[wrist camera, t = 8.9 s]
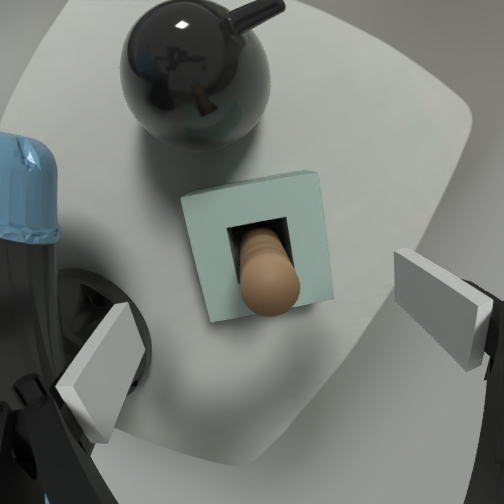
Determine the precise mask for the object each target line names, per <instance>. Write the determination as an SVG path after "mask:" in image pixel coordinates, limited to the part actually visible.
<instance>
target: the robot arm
mask: <svg viewBox="0 0 504 504" xmlns="http://www.w3.org/2000/svg"><path fill="white" fill-rule="evenodd" d="M57 177H58V173H57V165H56V161H55V158H54V156H53V154H52V153H51V151H50V150H49V149H48V148H47V147H46V146H45V145H44V144H43V143H42V142H40V141H38V140H35V139H32V138H29V137H25V136H20V135H15V134H10V133H5V132H0V504H118V502H117V501H116V499H115V497H114V496H113V494H112V493H111V491H110V490H109V488H108V486H107V485H106V483H105V481H104V480H103V478H102V476H101V475H100V473H99V471H98V469H97V468H96V466H95V464H94V462H93V460H92V458H91V457H90V455H91V453H92V450H93V448H94V446H95V443H108V442H109V439H110V436H111V433H112V431H113V428H114V426H115V423H116V420H117V418H118V415H119V413H120V410H121V408H122V405H123V403H124V400H125V398H126V396H127V395H129V394H130V393H131V392H133V391H134V390H135V389H136V388H137V387H138V385H139V384H140V382H141V381H142V379H143V377H144V375H145V372H146V370H147V367H148V365H149V362H150V358H151V339H150V335H149V331H148V328H147V325H146V323H145V321H144V318H143V317H142V315H141V313H140V311H139V310H138V308H137V307H136V306H135V304H134V303H133V302H132V300H131V299H130V298H129V297H128V296H127V295H126V294H125V293H124V292H123V291H122V290H121V289H119V288H118V287H117V286H116V285H114V284H113V283H112V282H110V281H108V280H107V279H105V278H103V277H101V276H99V275H97V274H94V273H91V272H88V271H84V270H78V269H67V270H61V271H58V269H57V242H58V241H59V240H60V238H61V228H60V226H59V224H58V223H57ZM394 270H395V301H396V302H397V303H398V304H399V305H400V306H401V307H402V308H403V309H404V310H405V311H406V312H407V313H408V314H409V315H410V316H412V318H413V319H415V321H417V322H418V323H419V324H420V325H421V326H422V327H423V328H424V329H425V330H426V331H427V332H428V333H429V334H430V335H431V336H432V337H433V338H434V339H435V340H436V341H437V342H438V343H439V344H440V345H441V346H442V347H443V348H444V349H445V350H446V351H447V352H448V353H449V354H450V355H451V356H452V357H453V358H454V360H455V361H456V362H457V363H458V364H459V365H460V366H461V367H462V368H463V369H464V370H465V371H466V372H467V371H470V370H472V369H474V368H476V367H478V366H480V365H481V364H482V359H483V355H484V351H485V352H486V353H487V354H488V355H489V356H490V359H489V363H488V367H487V371H486V374H485V378H484V380H487V385H486V396H485V405H484V413H483V420H482V427H481V432H480V438H479V443H478V448H477V453H476V458H475V463H474V467H473V472H472V475H471V479H470V483H469V487H468V490H467V494H466V497H465V500H464V504H504V301H501V300H500V299H498V298H497V297H495V296H494V295H492V294H490V293H489V292H487V291H485V290H484V289H482V288H479V286H478V285H476V284H474V283H472V282H470V281H467V280H464V279H459V278H458V277H456V276H455V275H453V274H451V273H449V272H448V271H446V270H445V269H443V268H441V267H439V266H438V265H436V264H434V263H432V262H431V261H429V260H428V259H426V258H424V257H422V256H421V255H419V254H417V253H415V252H414V251H412V250H410V249H408V248H403V249H398V250H394Z"/></svg>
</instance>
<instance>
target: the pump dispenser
mask: <svg viewBox="0 0 504 504" xmlns="http://www.w3.org/2000/svg"><path fill="white" fill-rule="evenodd" d="M285 9H286V5H285V3H284V1H283V0H256V1H253V2H251V3H248V4H246V5H244V6H241V7H239V8H236V9H234V10H232V11H231V10H229V9H227V8H226V7H224V6H222V5H220V4H218V3H216V2H213V1H210V0H167V1H164V2H162V3H159V4H157V5H155V6H154V7H152V8H150V9H149V10H148V11H146V12H145V13H144V14H143V15H142V16H141V17H140V18H139V19H138V20H137V21H136V22H135V23H134V25H133V26H132V27H131V29H130V31H129V32H128V34H127V36H126V39H125V41H124V44H123V48H122V52H121V59H120V79H121V86H122V90H123V94H124V97H125V100H126V102H127V105H128V107H129V109H130V110H131V112H132V114H133V115H134V117H135V118H136V120H137V121H138V122H139V123H140V124H141V126H142V127H143V128H144V129H145V130H146V131H147V132H148V133H149V134H151V135H152V136H153V137H154V138H156V139H157V140H159V141H160V142H162V143H164V144H166V145H168V146H170V147H173V148H175V149H179V150H183V151H188V152H209V151H214V150H218V149H221V148H224V147H227V146H229V145H231V144H233V143H235V142H237V141H238V140H240V139H241V138H243V137H244V136H245V135H246V134H248V133H249V132H250V131H251V130H252V129H253V128H254V126H255V125H256V124H257V123H258V121H259V120H260V118H261V116H262V115H263V113H264V111H265V108H266V106H267V103H268V100H269V95H270V88H271V76H270V68H269V63H268V59H267V56H266V53H265V50H264V48H263V46H262V44H261V42H260V40H259V39H258V37H257V35H256V34H255V33H254V31H253V30H252V29H253V28H255V27H257V26H258V25H260V24H262V23H264V22H265V21H267V20H269V19H271V18H273V17H275V16H276V15H278V14H280V13H282V12H284V11H285Z"/></svg>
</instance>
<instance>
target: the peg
mask: <svg viewBox="0 0 504 504" xmlns="http://www.w3.org/2000/svg"><path fill="white" fill-rule="evenodd" d="M240 284H241V296H242V299H243V302H244V303H245V305H246V306H247V307H248V308H249V309H250V310H251V311H252V312H254V313H256V314H258V315H262V316H277V315H280V314H283V313H285V312H287V311H288V310H289V309H291V308H292V307H293V306H294V304H295V303H296V301H297V300H298V297H299V294H300V281H299V278H298V276H297V274H296V272H295V270H294V268H293V266H292V264H291V262H290V260H289V258H288V256H287V254H286V252H285V250H284V248H283V246H282V244H281V242H280V240H279V238H278V236H277V234H276V232H275V230H274V228H273V227H272V226H271V225H270V224H269V223H268V222H266V221H260V222H255V223H249V224H246V225H245V226H244V227H243V228H242V230H241V233H240Z"/></svg>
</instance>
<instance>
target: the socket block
mask: <svg viewBox="0 0 504 504" xmlns="http://www.w3.org/2000/svg"><path fill="white" fill-rule="evenodd" d="M180 199H181V203H182V208H183V213H184V217H185V221H186V226H187V230H188V234H189V239H190V243H191V247H192V251H193V255H194V260H195V264H196V268H197V272H198V276H199V280H200V284H201V288H202V291H203V295H204V299H205V303H206V307H207V311H208V314H209V318H210V322H216V321H222V320H228V319H234V318H239V317H245V316H251V315H256V313H254V312H252V311H251V310H250V309H249V308H248V307H247V306H246V305H245V303H244V302H243V299H242V296H241V284H240V264H238V260H237V256H236V251H235V246H234V241H233V236H232V231H231V227H234V226H239V225H244V224H249V223H255V222H260V221H265V220H271V219H276V218H280V220H281V226H282V232H283V238H284V244H285V250H286V254H287V256H288V258H289V260H290V262H291V264H292V266H293V268H294V270H295V272H296V274H297V276H298V278H299V281H300V294H299V297H298V300H297V301H296V303H295V304H294V306H293V307H298V306H302V305H307V304H312V303H317V302H322V301H326V300H331V299H334V294H333V283H332V274H331V265H330V256H329V247H328V239H327V231H326V224H325V216H324V209H323V202H322V196H321V189H320V183H319V176H318V172H313V171H305V170H303V171H297V172H291V173H285V174H279V175H273V176H268V177H262V178H256V179H251V180H246V181H240V182H235V183H230V184H225V185H220V186H215V187H210V188H206V189H201V190H196V191H192V192H189V193H188V194H186V195H184V196H183V197H181V198H180ZM293 307H292V308H293Z"/></svg>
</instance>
